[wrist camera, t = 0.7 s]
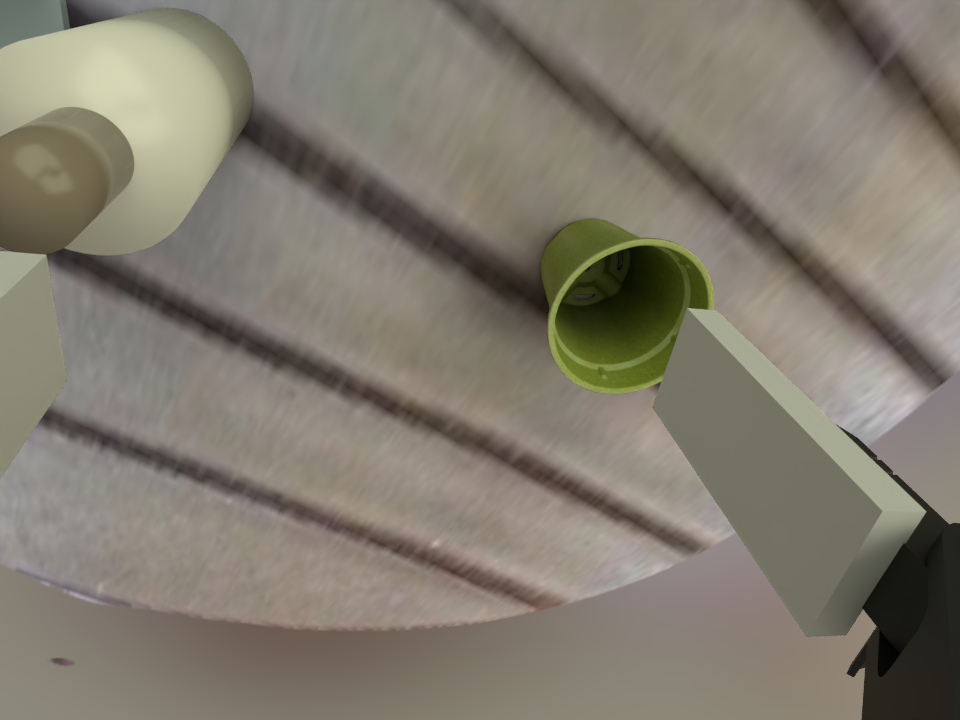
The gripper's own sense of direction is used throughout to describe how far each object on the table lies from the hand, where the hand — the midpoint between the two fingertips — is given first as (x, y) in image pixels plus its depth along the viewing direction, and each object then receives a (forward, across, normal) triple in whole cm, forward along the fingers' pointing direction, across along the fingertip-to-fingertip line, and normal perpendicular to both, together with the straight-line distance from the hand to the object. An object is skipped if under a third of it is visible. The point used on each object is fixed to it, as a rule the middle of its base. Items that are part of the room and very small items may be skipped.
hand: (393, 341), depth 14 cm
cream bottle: (+26, -10, 0) cm, 28 cm away
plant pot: (+27, +15, -8) cm, 31 cm away
